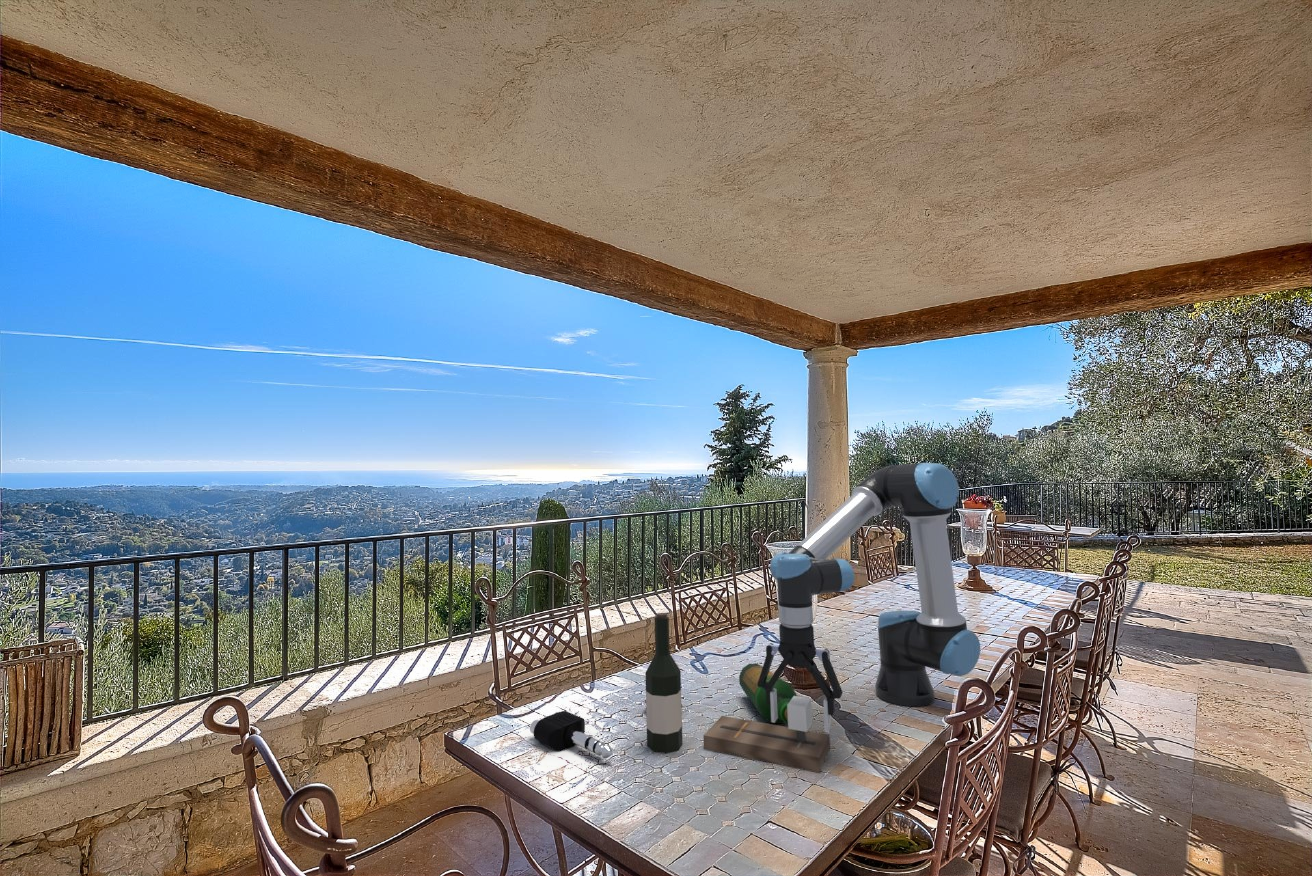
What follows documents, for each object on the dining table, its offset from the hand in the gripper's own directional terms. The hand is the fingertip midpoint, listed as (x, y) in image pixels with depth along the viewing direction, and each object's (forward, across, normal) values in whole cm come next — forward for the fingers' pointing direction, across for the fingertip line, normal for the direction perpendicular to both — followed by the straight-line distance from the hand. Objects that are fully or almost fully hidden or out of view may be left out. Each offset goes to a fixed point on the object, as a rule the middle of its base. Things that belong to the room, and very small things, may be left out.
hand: (800, 724), depth 126 cm
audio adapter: (+7, +48, +18) cm, 52 cm away
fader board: (+7, +8, 0) cm, 10 cm away
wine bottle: (+7, +30, +8) cm, 32 cm away
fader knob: (+3, 0, 0) cm, 3 cm away
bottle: (+2, +21, -30) cm, 36 cm away
